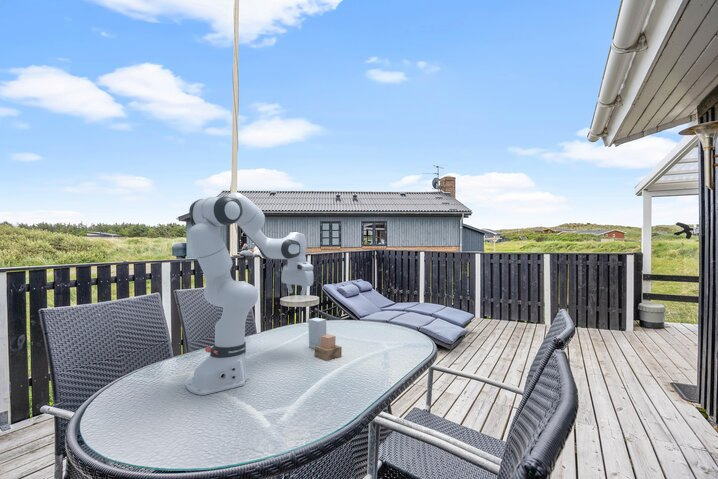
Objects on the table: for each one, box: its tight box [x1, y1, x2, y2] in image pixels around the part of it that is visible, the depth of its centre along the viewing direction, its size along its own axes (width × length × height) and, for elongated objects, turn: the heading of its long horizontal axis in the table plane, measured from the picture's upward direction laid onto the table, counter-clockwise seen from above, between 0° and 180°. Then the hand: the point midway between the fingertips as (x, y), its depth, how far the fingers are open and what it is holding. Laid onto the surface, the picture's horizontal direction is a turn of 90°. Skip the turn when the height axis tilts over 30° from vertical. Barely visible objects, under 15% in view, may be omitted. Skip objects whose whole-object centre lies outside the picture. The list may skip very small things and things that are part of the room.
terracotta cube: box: [320, 333, 336, 349], centre depth 171 cm, size 5×5×5 cm
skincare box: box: [308, 317, 328, 350], centre depth 185 cm, size 8×6×15 cm
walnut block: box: [314, 344, 343, 362], centre depth 171 cm, size 9×9×5 cm
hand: (296, 293), depth 174 cm, fingers open, 8 cm apart
